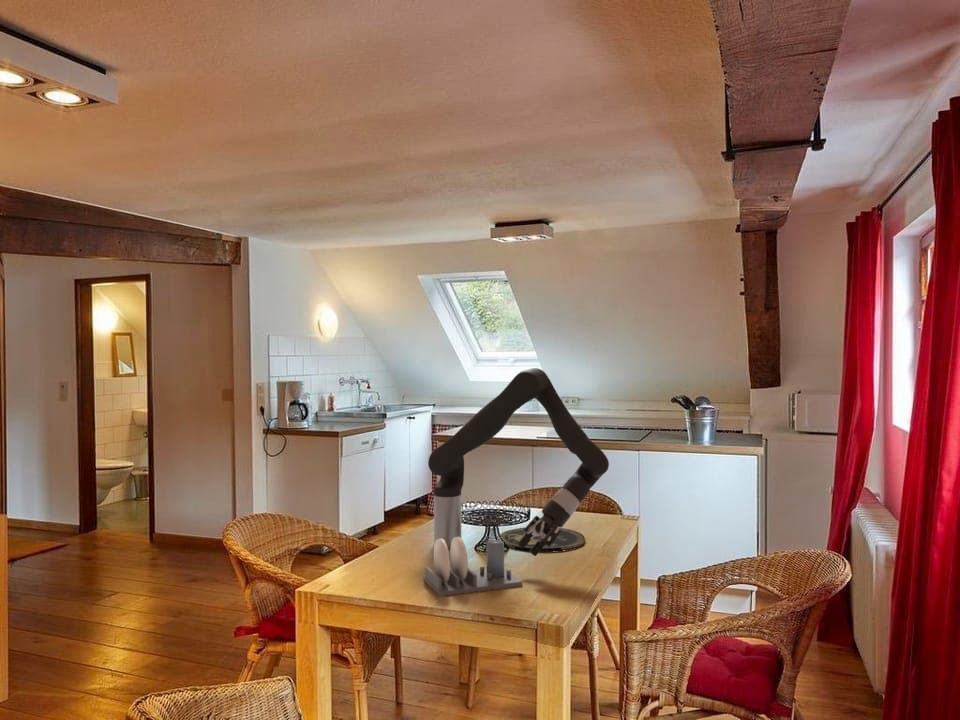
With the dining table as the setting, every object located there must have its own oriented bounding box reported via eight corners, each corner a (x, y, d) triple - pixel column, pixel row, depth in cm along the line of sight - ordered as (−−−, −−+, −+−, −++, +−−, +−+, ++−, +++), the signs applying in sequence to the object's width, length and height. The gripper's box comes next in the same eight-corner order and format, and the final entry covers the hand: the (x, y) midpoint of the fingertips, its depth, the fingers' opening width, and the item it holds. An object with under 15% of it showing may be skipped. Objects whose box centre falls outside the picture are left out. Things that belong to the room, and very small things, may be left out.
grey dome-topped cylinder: (484, 574, 206) (483, 541, 206) (500, 572, 208) (500, 539, 207) (490, 579, 201) (490, 545, 201) (507, 577, 203) (506, 543, 203)
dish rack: (423, 580, 204) (423, 534, 204) (501, 570, 213) (501, 526, 213) (439, 596, 190) (439, 547, 190) (522, 585, 199) (522, 538, 199)
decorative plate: (560, 523, 266) (601, 542, 238) (560, 528, 266) (601, 547, 238) (485, 531, 256) (519, 552, 228) (485, 536, 256) (519, 558, 228)
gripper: (542, 494, 217) (507, 536, 213) (564, 503, 204) (527, 548, 200) (558, 510, 219) (524, 552, 215) (580, 520, 206) (545, 565, 202)
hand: (526, 550), depth 207 cm, fingers open, 8 cm apart
